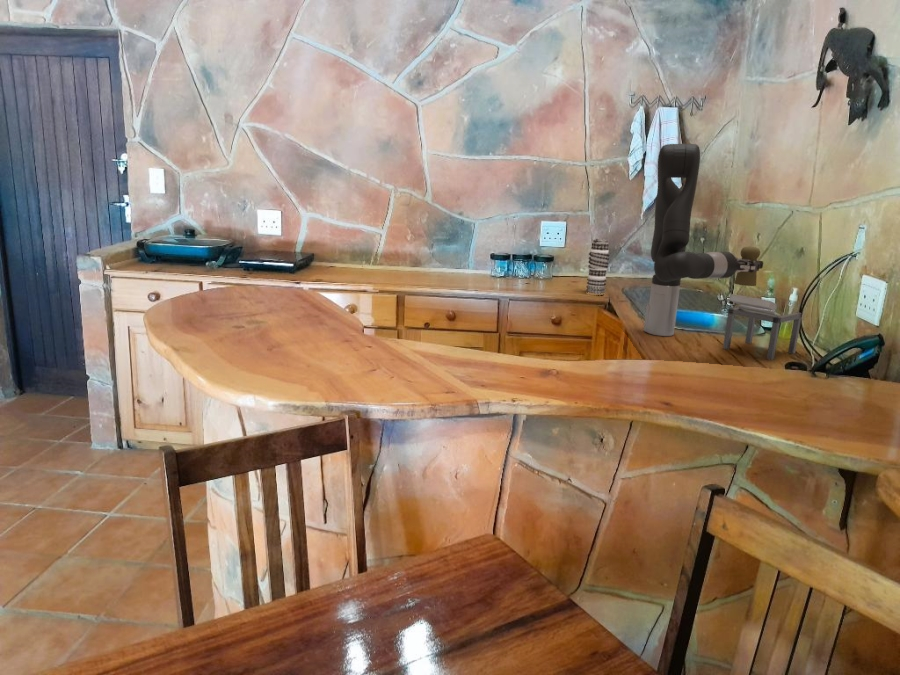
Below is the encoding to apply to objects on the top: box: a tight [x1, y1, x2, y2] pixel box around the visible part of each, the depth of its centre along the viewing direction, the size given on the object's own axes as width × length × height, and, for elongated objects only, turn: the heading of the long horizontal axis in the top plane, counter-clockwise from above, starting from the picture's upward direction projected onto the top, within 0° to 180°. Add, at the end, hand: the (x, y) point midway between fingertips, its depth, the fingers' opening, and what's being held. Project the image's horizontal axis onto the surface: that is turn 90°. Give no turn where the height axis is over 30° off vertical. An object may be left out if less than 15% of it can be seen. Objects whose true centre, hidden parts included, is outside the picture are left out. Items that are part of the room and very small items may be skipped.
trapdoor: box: [729, 293, 793, 323], centre depth 201 cm, size 12×18×3 cm, turn 128°
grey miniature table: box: [722, 306, 803, 361], centre depth 204 cm, size 16×16×13 cm
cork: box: [733, 246, 761, 287], centre depth 190 cm, size 6×6×11 cm
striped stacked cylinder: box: [585, 238, 610, 294], centre depth 292 cm, size 9×9×25 cm
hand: (755, 263), depth 191 cm, fingers closed on cork, 3 cm apart
